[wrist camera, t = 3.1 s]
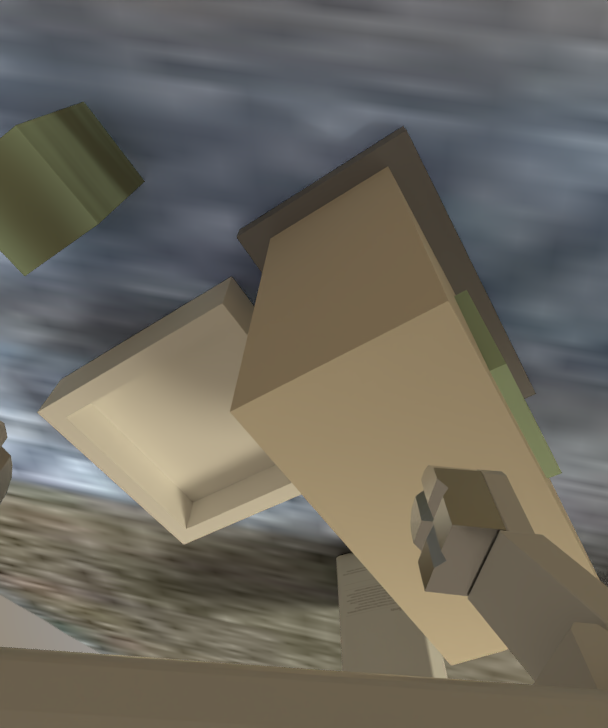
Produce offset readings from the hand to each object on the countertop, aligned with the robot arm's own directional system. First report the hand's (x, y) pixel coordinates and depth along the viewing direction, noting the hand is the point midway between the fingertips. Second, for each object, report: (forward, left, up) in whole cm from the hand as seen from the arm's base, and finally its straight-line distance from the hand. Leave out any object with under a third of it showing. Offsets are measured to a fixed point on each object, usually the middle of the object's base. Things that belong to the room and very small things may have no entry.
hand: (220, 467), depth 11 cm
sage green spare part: (+8, -6, -21) cm, 24 cm away
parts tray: (+12, +10, -21) cm, 26 cm away
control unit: (-2, +10, -21) cm, 23 cm away
